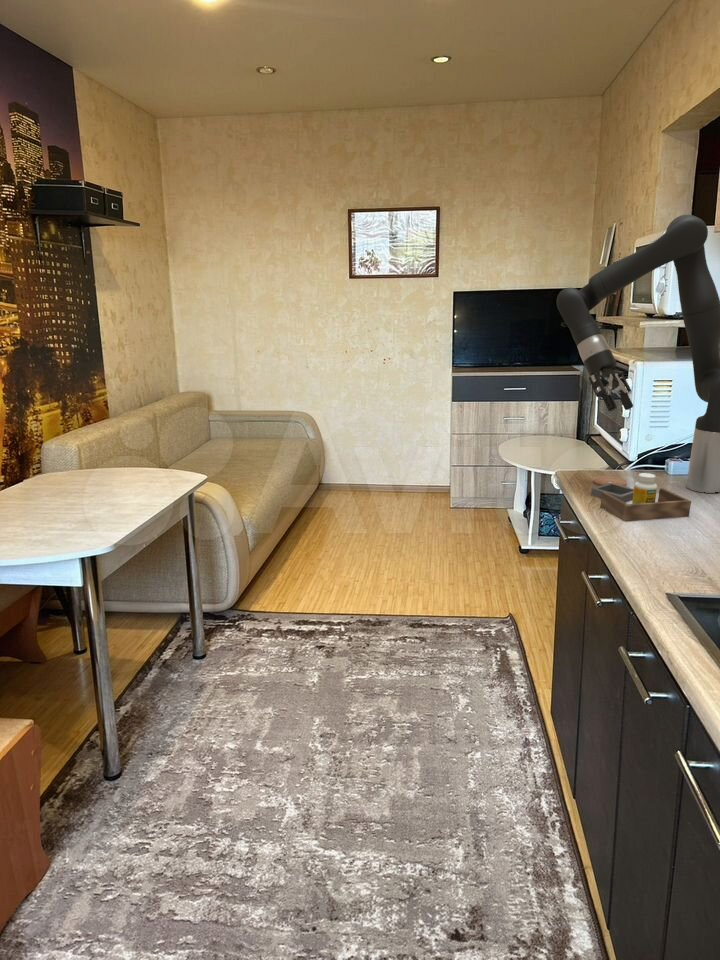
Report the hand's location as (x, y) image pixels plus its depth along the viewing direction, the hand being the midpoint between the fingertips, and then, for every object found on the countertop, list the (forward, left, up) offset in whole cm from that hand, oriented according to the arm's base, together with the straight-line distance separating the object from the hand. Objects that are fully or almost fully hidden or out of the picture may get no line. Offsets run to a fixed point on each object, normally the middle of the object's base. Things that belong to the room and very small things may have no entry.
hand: (621, 409), depth 179 cm
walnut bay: (+5, +12, -24) cm, 27 cm away
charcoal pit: (0, +1, -24) cm, 24 cm away
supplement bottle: (+5, +12, -24) cm, 27 cm away
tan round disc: (-10, -7, -24) cm, 27 cm away
